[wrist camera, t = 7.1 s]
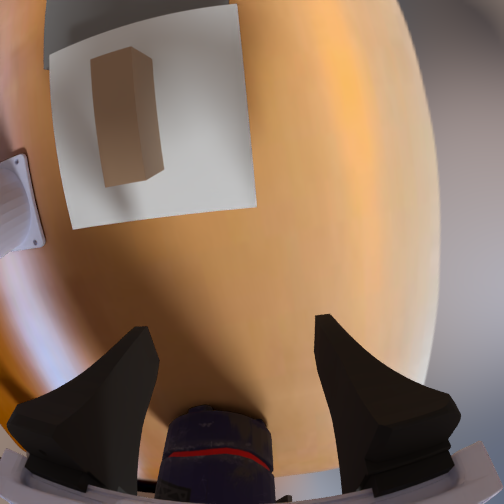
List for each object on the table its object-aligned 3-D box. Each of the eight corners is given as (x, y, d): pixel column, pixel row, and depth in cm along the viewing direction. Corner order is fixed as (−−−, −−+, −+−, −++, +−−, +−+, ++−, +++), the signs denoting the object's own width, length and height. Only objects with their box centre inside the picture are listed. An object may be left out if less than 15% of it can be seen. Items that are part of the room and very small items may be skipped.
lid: (79, 225, 17) (46, 249, 13) (56, 56, 12) (18, 48, 9) (256, 203, 16) (258, 225, 13) (237, 8, 12) (234, -21, 8)
